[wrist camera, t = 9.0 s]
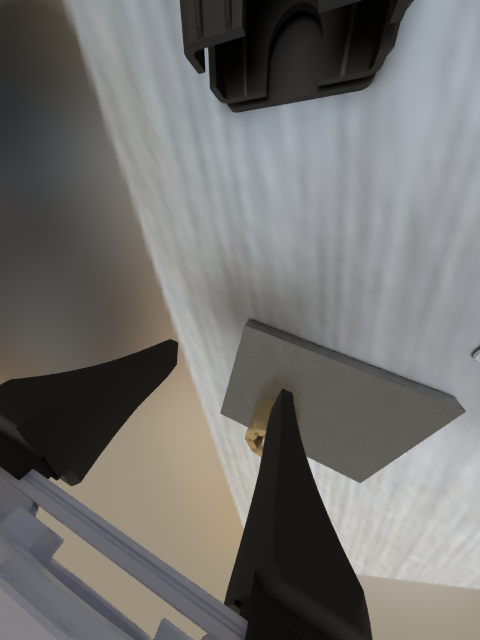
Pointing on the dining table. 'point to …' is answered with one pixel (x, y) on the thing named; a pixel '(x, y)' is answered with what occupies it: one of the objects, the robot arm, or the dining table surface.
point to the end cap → (288, 46)
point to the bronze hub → (259, 425)
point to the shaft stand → (335, 401)
